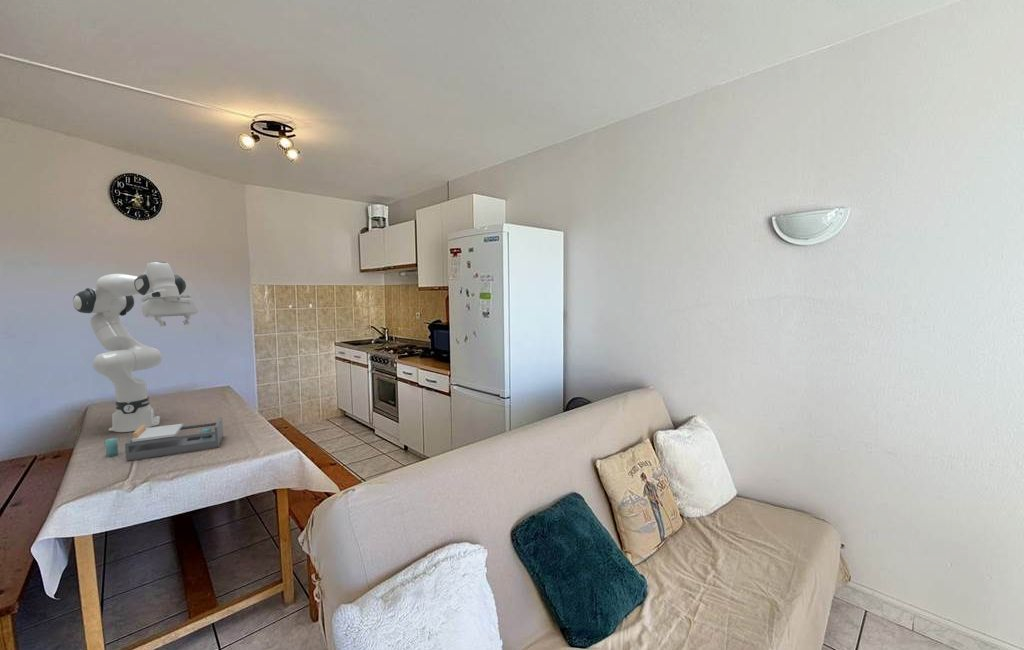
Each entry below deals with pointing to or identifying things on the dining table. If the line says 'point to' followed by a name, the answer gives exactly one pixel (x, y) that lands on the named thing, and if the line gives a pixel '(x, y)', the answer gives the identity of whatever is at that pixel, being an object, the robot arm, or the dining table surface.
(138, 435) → the lid
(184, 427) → the housing
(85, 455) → the dining table surface
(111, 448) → the teal rounded capsule
